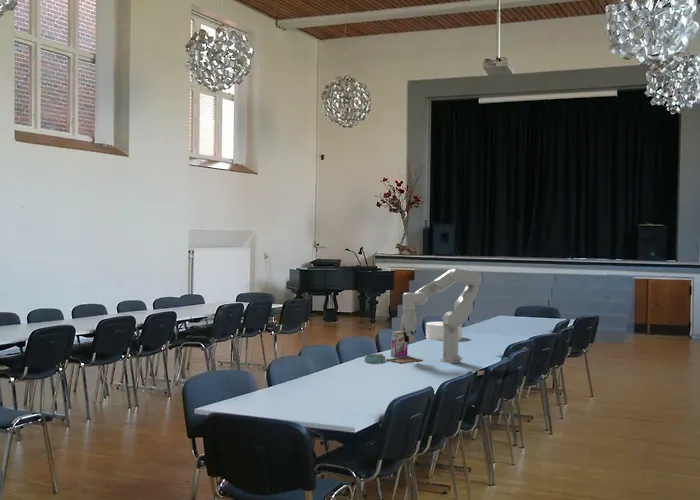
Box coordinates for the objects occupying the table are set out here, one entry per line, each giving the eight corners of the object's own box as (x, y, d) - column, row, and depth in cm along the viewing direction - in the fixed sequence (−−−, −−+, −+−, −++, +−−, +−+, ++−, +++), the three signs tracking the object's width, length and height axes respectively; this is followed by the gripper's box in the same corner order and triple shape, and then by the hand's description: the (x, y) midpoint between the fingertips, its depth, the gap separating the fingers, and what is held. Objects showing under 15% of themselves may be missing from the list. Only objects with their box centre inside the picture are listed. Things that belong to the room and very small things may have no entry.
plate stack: (442, 335, 607) (443, 320, 607) (469, 338, 586) (469, 324, 586) (418, 337, 589) (418, 323, 589) (444, 341, 568) (444, 326, 568)
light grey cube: (382, 361, 468) (382, 354, 468) (377, 362, 465) (377, 354, 465) (378, 360, 471) (378, 353, 471) (372, 361, 468) (372, 353, 468)
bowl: (388, 362, 469) (389, 356, 469) (374, 363, 461) (374, 358, 461) (375, 359, 479) (375, 353, 479) (360, 361, 471) (360, 355, 471)
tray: (422, 361, 473) (422, 359, 473) (401, 364, 461) (401, 362, 461) (406, 358, 484) (406, 356, 484) (386, 361, 472) (386, 359, 472)
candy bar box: (395, 357, 486) (396, 332, 486) (390, 356, 490) (390, 331, 490) (408, 356, 494) (408, 331, 493) (402, 355, 497) (403, 330, 497)
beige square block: (414, 341, 470) (414, 334, 470) (409, 342, 467) (409, 335, 467) (409, 341, 473) (409, 334, 473) (404, 342, 470) (404, 334, 470)
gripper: (414, 311, 478) (414, 339, 478) (395, 313, 467) (395, 342, 468) (422, 311, 472) (423, 340, 473) (403, 314, 461) (404, 343, 462)
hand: (409, 341), depth 470 cm, fingers closed on beige square block, 4 cm apart
